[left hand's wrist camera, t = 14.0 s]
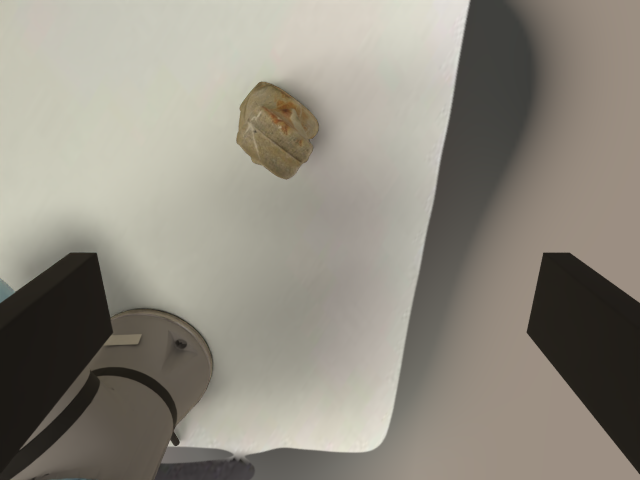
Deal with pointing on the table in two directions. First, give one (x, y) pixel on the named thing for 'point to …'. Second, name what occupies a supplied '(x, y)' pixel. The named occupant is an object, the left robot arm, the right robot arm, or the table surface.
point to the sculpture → (276, 130)
